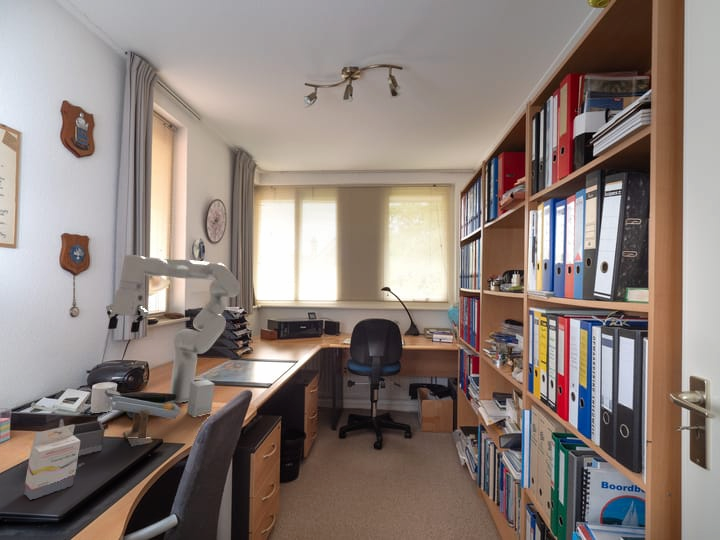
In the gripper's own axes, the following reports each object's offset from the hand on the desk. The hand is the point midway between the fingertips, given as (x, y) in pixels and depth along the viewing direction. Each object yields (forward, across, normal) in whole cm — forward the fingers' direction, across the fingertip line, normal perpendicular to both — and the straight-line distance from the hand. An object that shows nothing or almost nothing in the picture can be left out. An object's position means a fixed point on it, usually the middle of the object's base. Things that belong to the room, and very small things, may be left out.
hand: (123, 330), depth 128 cm
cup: (+34, -12, +22) cm, 42 cm away
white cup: (+33, +7, -4) cm, 34 cm away
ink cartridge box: (+34, -22, +39) cm, 57 cm away
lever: (+24, -18, +7) cm, 31 cm away
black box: (+33, -7, -10) cm, 35 cm away
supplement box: (+32, -27, -16) cm, 45 cm away
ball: (+24, -26, +3) cm, 36 cm away
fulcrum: (+33, -21, +10) cm, 40 cm away
